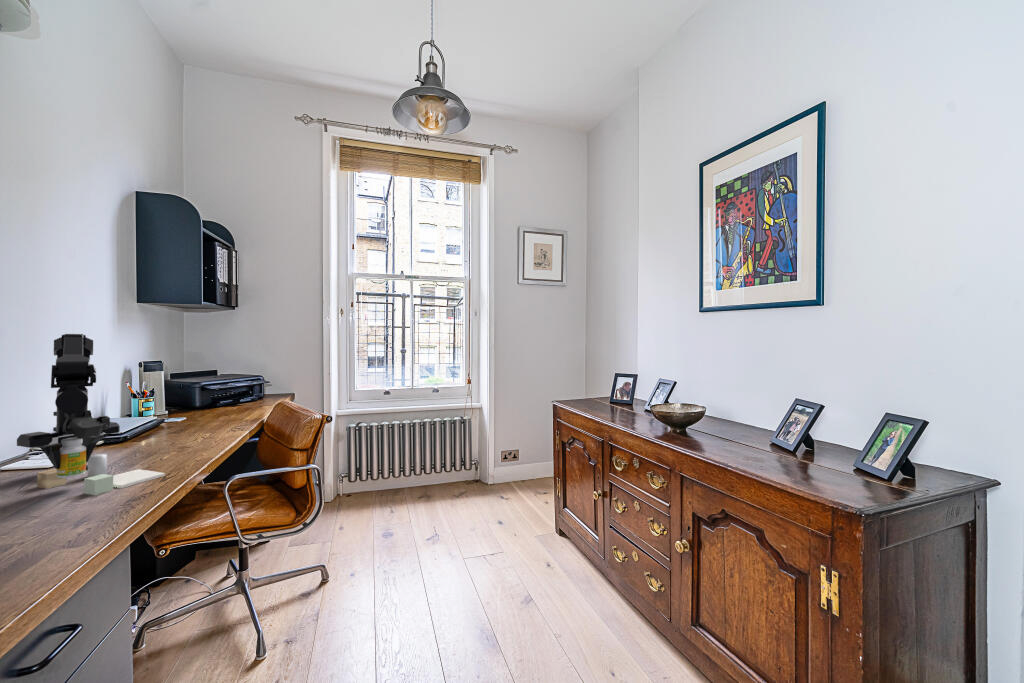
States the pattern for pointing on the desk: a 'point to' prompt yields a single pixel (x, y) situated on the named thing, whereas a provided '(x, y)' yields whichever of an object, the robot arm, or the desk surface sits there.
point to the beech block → (49, 479)
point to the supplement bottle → (72, 458)
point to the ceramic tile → (134, 477)
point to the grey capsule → (97, 465)
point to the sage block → (98, 484)
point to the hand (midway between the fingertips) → (71, 465)
